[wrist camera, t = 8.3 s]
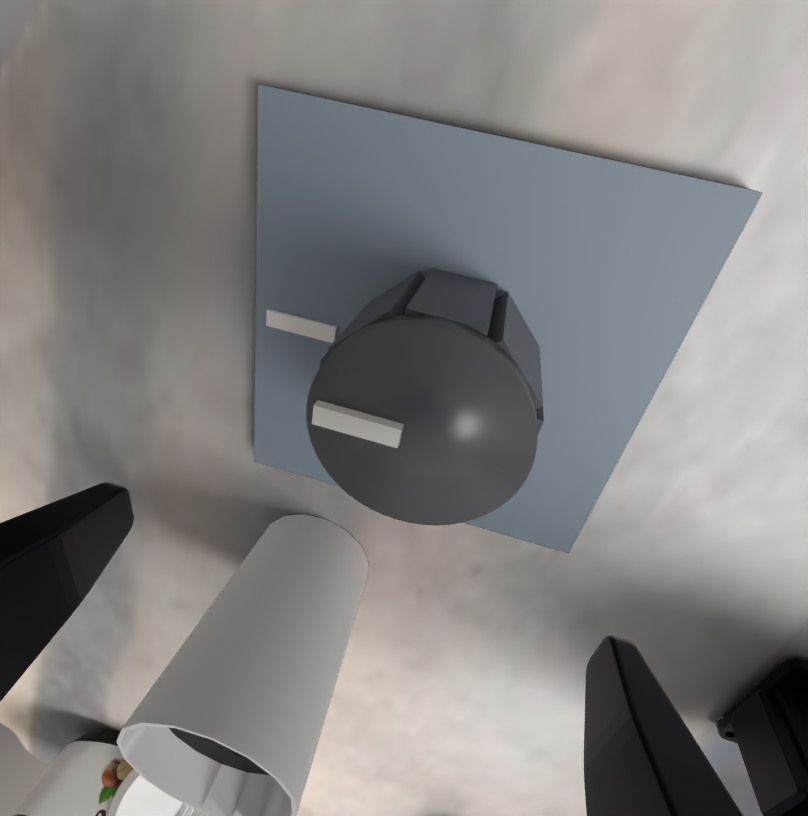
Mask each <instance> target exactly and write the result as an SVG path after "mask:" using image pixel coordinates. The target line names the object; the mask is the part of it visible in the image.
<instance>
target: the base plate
mask: <svg viewBox="0 0 808 816" xmlns="http://www.w3.org/2000/svg"><path fill="white" fill-rule="evenodd" d="M761 195H762V192H758V191H755V190H751V189H746V188H742V187H737V186H732V185H728V184H723V183H718V182H714V181H709V180H704V179H700V178H695V177H690V176H686V175H681V174H676V173H672V172H667V171H662V170H658V169H653V168H648V167H644V166H639V165H634V164H630V163H625V162H620V161H616V160H611V159H606V158H602V157H597V156H592V155H588V154H583V153H578V152H574V151H569V150H564V149H560V148H555V147H550V146H546V145H541V144H536V143H532V142H527V141H522V140H518V139H513V138H508V137H504V136H499V135H494V134H490V133H485V132H480V131H476V130H471V129H466V128H462V127H457V126H452V125H448V124H443V123H438V122H434V121H429V120H424V119H420V118H415V117H410V116H406V115H401V114H396V113H392V112H387V111H382V110H378V109H373V108H368V107H364V106H359V105H354V104H350V103H345V102H340V101H336V100H331V99H326V98H322V97H317V96H312V95H308V94H303V93H298V92H294V91H289V90H284V89H280V88H275V87H270V86H264V85H258V118H257V220H256V321H255V423H254V461H255V462H259V463H262V464H265V465H269V466H272V467H276V468H279V469H282V470H286V471H289V472H293V473H296V474H300V475H303V476H306V477H310V478H313V479H317V480H320V481H323V482H327V483H330V484H334V485H337V486H339V485H338V484H337V483H336V482H335V481H334V480H333V479H332V478H331V477H330V475H329V474H328V473H327V471H326V470H325V468H324V467H323V466H322V464H321V462H320V460H319V459H318V457H317V455H316V453H315V451H314V448H313V446H312V444H311V440H310V437H309V433H308V428H307V421H306V405H307V399H308V393H309V390H310V387H311V384H312V381H313V380H314V378H315V376H316V374H317V372H318V370H319V369H320V360H321V359H322V358H323V357H324V355H325V354H326V353H327V352H328V351H329V350H328V349H327V348H328V347H329V346H330V345H331V344H332V343H333V342H334V341H335V340H336V338H337V337H338V336H339V335H340V334H341V333H342V332H343V331H344V330H345V329H346V327H347V326H348V325H349V324H350V323H351V322H352V321H353V320H354V319H355V317H356V316H357V315H358V314H359V313H360V312H361V311H362V310H363V309H364V307H365V306H366V305H367V304H368V303H369V302H370V301H372V300H374V299H375V298H377V297H378V296H380V295H381V294H383V293H385V292H386V291H388V290H389V289H391V288H392V287H394V286H395V285H397V284H399V283H400V282H402V281H403V280H405V279H406V278H408V277H409V276H411V275H413V274H414V273H416V272H417V271H419V270H420V271H421V273H422V275H423V276H424V278H425V279H426V277H427V276H428V274H429V273H430V271H431V270H432V268H435V269H439V270H443V271H447V272H451V273H455V274H459V275H463V276H468V277H472V278H476V279H480V280H484V281H488V282H492V283H496V284H497V289H496V294H495V299H497V298H499V297H500V296H502V295H504V294H506V293H508V292H509V294H510V296H511V297H512V299H513V301H514V303H515V304H516V306H517V308H518V310H519V311H520V313H521V315H522V317H523V318H524V320H525V322H526V324H527V325H528V327H529V329H530V331H531V332H532V334H533V336H534V338H535V339H536V341H537V343H538V345H539V348H540V361H541V378H542V396H543V414H544V422H543V424H542V427H541V429H540V431H539V434H538V436H537V450H536V456H535V460H534V463H533V466H532V469H531V471H530V473H529V475H528V477H527V479H526V481H525V482H524V484H523V485H522V486H521V488H520V489H519V490H518V492H517V493H516V494H515V495H514V496H513V497H512V498H511V499H510V500H508V501H507V502H506V503H504V504H503V505H502V506H500V507H499V508H497V509H496V510H494V511H492V512H490V513H489V514H487V515H484V516H482V517H479V518H477V519H474V520H470V521H466V522H463V523H466V524H470V525H473V526H477V527H480V528H483V529H487V530H490V531H494V532H497V533H501V534H504V535H507V536H511V537H514V538H518V539H521V540H524V541H528V542H531V543H535V544H538V545H541V546H545V547H548V548H552V549H555V550H558V551H562V552H565V553H569V552H570V550H571V548H572V546H573V544H574V542H575V540H576V539H577V537H578V535H579V533H580V531H581V529H582V527H583V526H584V524H585V522H586V520H587V518H588V516H589V514H590V513H591V511H592V509H593V507H594V505H595V503H596V501H597V500H598V498H599V496H600V494H601V492H602V490H603V489H604V487H605V485H606V483H607V481H608V479H609V477H610V476H611V474H612V472H613V470H614V468H615V466H616V464H617V463H618V461H619V459H620V457H621V455H622V453H623V451H624V450H625V448H626V446H627V444H628V442H629V440H630V438H631V437H632V435H633V433H634V431H635V429H636V427H637V425H638V424H639V422H640V420H641V418H642V416H643V414H644V412H645V411H646V409H647V407H648V405H649V403H650V401H651V399H652V398H653V396H654V394H655V392H656V390H657V388H658V386H659V385H660V383H661V381H662V379H663V377H664V375H665V373H666V372H667V370H668V368H669V366H670V364H671V362H672V360H673V359H674V357H675V355H676V353H677V351H678V349H679V347H680V346H681V344H682V342H683V340H684V338H685V336H686V334H687V333H688V331H689V329H690V327H691V325H692V323H693V321H694V320H695V318H696V316H697V314H698V312H699V310H700V309H701V307H702V305H703V303H704V301H705V299H706V297H707V296H708V294H709V292H710V290H711V288H712V286H713V284H714V283H715V281H716V279H717V277H718V275H719V273H720V271H721V270H722V268H723V266H724V264H725V262H726V260H727V258H728V257H729V255H730V253H731V251H732V249H733V247H734V245H735V244H736V242H737V240H738V238H739V236H740V234H741V232H742V231H743V229H744V227H745V225H746V223H747V221H748V219H749V218H750V216H751V214H752V212H753V210H754V208H755V206H756V205H757V203H758V201H759V199H760V197H761Z"/></svg>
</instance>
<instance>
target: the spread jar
mask: <svg viewBox="0 0 808 816" xmlns="http://www.w3.org/2000/svg"><path fill="white" fill-rule="evenodd" d="M119 734H120V732H117V731H113V730H98V731H94V732H91V733H88V734H85V735H83V736H81V737H79V738H77V739H75V740H74V741H72V742H71V743H70V744H68V745H67V746H66V747H65V748H64V749H63V750H62V751H61V752H60V753H59V754H58V755H57V756H56V757H55V758H54V760H53V761H52V762H51V763H50V764H49V766H48V767H47V768H46V770H45V771H44V772H43V773H42V775H41V776H40V777H39V779H38V780H37V781H36V783H35V784H34V785H33V787H32V788H31V789H30V791H29V792H28V793H27V795H26V796H25V798H24V799H23V800H22V802H21V803H20V805H19V806H18V808H17V809H16V811H15V812H14V814H13V815H12V816H190V815H191V814H192V812H193V809H194V808H192V807H190V806H188V805H186V804H184V803H182V802H180V801H178V800H176V799H174V798H172V797H170V796H168V795H167V794H166V793H164V792H163V791H161V790H160V789H158V788H157V787H155V786H154V785H152V784H151V783H149V782H148V781H147V780H145V779H144V778H142V777H141V776H140V775H139V774H138V773H137V772H136V771H135V770H134V768H133V767H132V766H131V765H130V764H129V763H128V762H127V761H126V760H125V759H124V758H123V755H122V753H121V751H120V749H119V746H118V744H117V742H116V741H117V739H118V736H119Z"/></svg>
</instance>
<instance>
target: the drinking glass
mask: <svg viewBox="0 0 808 816" xmlns="http://www.w3.org/2000/svg"><path fill="white" fill-rule="evenodd" d="M368 563H369V562H368V560H367V558H366V555H365V553H364V551H363V548H362V546H361V545H360V544H359V543H358V542H357V541H356V540H355V539H354V538H353V537H352V536H351V535H350V534H349V533H348V532H347V531H346V530H344V529H342V528H341V527H339V526H337V525H335V524H334V523H332V522H330V521H328V520H326V519H322V518H318V517H314V516H310V515H306V514H300V515H287V516H283V517H281V518H280V519H278V520H276V521H274V522H272V523H270V525H269V526H268V528H267V529H266V531H265V532H264V533H263V535H262V536H261V537H260V539H259V540H258V542H257V543H256V544H255V546H254V547H253V548H252V550H251V551H250V553H249V554H248V555H247V557H246V558H245V559H244V561H243V562H242V564H241V565H240V566H239V568H238V569H237V571H236V572H235V573H234V575H233V576H232V577H231V579H230V580H229V582H228V583H227V584H226V586H225V587H224V588H223V590H222V591H221V593H220V594H219V595H218V597H217V598H216V599H215V601H214V602H213V604H212V605H211V606H210V608H209V609H208V611H207V612H206V613H205V615H204V616H203V617H202V619H201V620H200V622H199V623H198V624H197V626H196V627H195V628H194V630H193V631H192V633H191V634H190V635H189V637H188V638H187V639H186V641H185V642H184V644H183V645H182V646H181V648H180V649H179V651H178V652H177V653H176V655H175V656H174V657H173V659H172V660H171V662H170V663H169V664H168V666H167V667H166V668H165V670H164V671H163V673H162V674H161V675H160V677H159V678H158V679H157V681H156V682H155V684H154V685H153V686H152V688H151V689H150V690H149V692H148V693H147V695H146V696H145V697H144V699H143V700H142V702H141V703H140V704H139V706H138V707H137V708H136V710H135V711H134V713H133V714H132V715H131V717H130V718H129V719H128V721H127V722H126V724H125V725H124V726H123V728H122V730H121V732H120V734H119V736H118V739H117V741H116V742H117V744H118V746H119V749H120V751H121V753H122V755H123V758H124V759H125V760H126V761H127V762H128V763H129V764H130V765H131V766H132V767H133V768H134V770H135V771H136V772H137V773H138V774H139V775H140V776H141V777H142V778H144V779H145V780H147V781H148V782H149V783H151V784H152V785H154V786H155V787H157V788H158V789H160V790H161V791H163V792H164V793H166V794H167V795H168V796H170V797H172V798H174V799H176V800H178V801H180V802H182V803H184V804H186V805H188V806H190V807H192V808H194V809H196V810H198V811H201V812H204V813H207V814H209V815H212V816H296V815H297V812H298V808H299V805H300V801H301V798H302V795H303V791H304V788H305V785H306V781H307V778H308V774H309V771H310V768H311V764H312V761H313V758H314V754H315V751H316V748H317V744H318V741H319V737H320V734H321V731H322V727H323V724H324V721H325V717H326V714H327V711H328V707H329V704H330V700H331V697H332V694H333V690H334V687H335V684H336V680H337V677H338V673H339V670H340V667H341V663H342V660H343V657H344V653H345V650H346V647H347V643H348V640H349V636H350V633H351V630H352V626H353V623H354V620H355V616H356V613H357V610H358V606H359V603H360V599H361V596H362V593H363V589H364V586H365V583H366V579H367V574H368Z"/></svg>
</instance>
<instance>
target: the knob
mask: <svg viewBox="0 0 808 816" xmlns="http://www.w3.org/2000/svg"><path fill="white" fill-rule="evenodd" d="M496 289H497V284H496V283H492V282H488V281H484V280H480V279H476V278H472V277H468V276H463V275H459V274H455V273H451V272H447V271H443V270H439V269H435V268H432V270H431V271H430V273H429V274H428V276H427V277H426V279H425V278H424V276H423V275H422V273H421V271H420V270H419V271H417V272H416V273H414V274H413V275H411V276H409V277H408V278H406V279H405V280H403V281H402V282H400V283H399V284H397V285H395V286H394V287H392V288H391V289H389V290H388V291H386V292H385V293H383V294H381V295H380V296H378V297H377V298H375V299H374V300H372V301H370V302H369V303H368V304H367V305H366V306H365V307H364V309H363V310H362V311H361V312H360V313H359V314H358V315H357V316H356V317H355V319H354V320H353V321H352V322H351V323H350V324H349V325H348V326H347V327H346V329H345V330H344V331H343V332H342V333H341V334H340V335H339V336H338V337H337V338H336V340H335V341H334V342H333V343H332V344H331V345H330V346H329V347H328V348H327V349H328V350H329V351H328V352H327V353H326V354H325V355H324V357H323V358H322V359H321V360H320V369H319V370H318V372H317V374H316V376H315V378H314V380H313V381H312V384H311V387H310V390H309V393H308V399H307V405H306V421H307V428H308V433H309V437H310V440H311V444H312V446H313V448H314V451H315V453H316V455H317V457H318V459H319V460H320V462H321V464H322V466H323V467H324V468H325V470H326V471H327V473H328V474H329V475H330V477H331V478H332V479H333V480H334V481H335V482H336V483H337V484H338V485H339V486H340V487H341V488H342V489H343V490H344V491H345V492H347V493H348V494H349V495H350V496H352V497H353V498H354V499H356V500H357V501H359V502H360V503H362V504H363V505H365V506H367V507H369V508H370V509H372V510H374V511H376V512H379V513H381V514H383V515H386V516H388V517H391V518H394V519H397V520H401V521H405V522H409V523H416V524H422V525H450V524H456V523H463V522H466V521H470V520H474V519H477V518H479V517H482V516H484V515H487V514H489V513H490V512H492V511H494V510H496V509H497V508H499V507H500V506H502V505H503V504H504V503H506V502H507V501H508V500H510V499H511V498H512V497H513V496H514V495H515V494H516V493H517V492H518V490H519V489H520V488H521V486H522V485H523V484H524V482H525V481H526V479H527V477H528V475H529V473H530V471H531V469H532V466H533V463H534V460H535V456H536V450H537V436H538V434H539V431H540V429H541V427H542V424H543V422H544V414H543V396H542V378H541V361H540V348H539V345H538V343H537V341H536V339H535V338H534V336H533V334H532V332H531V331H530V329H529V327H528V325H527V324H526V322H525V320H524V318H523V317H522V315H521V313H520V311H519V310H518V308H517V306H516V304H515V303H514V301H513V299H512V297H511V296H510V294H509V292H508V293H506V294H504V295H502V296H500V297H499V298H497V299H495V294H496Z"/></svg>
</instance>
